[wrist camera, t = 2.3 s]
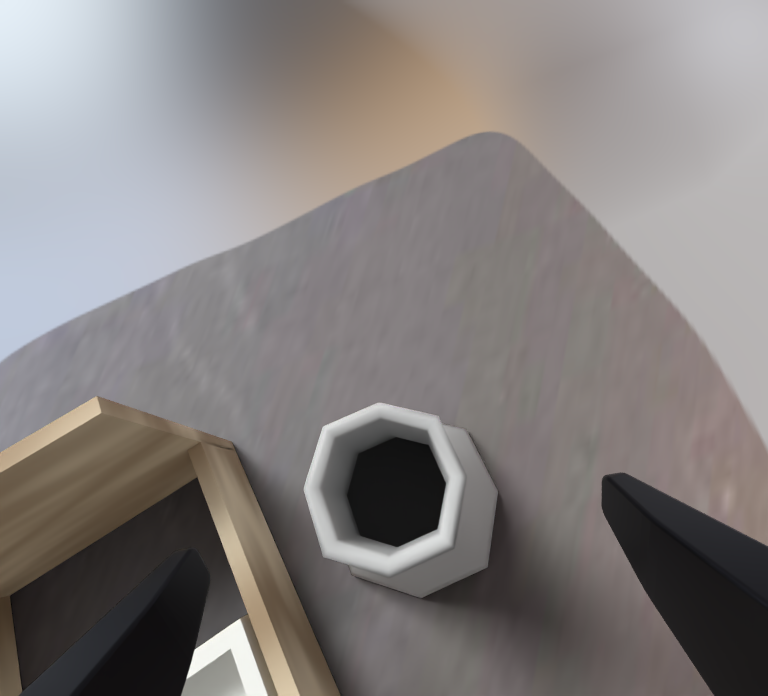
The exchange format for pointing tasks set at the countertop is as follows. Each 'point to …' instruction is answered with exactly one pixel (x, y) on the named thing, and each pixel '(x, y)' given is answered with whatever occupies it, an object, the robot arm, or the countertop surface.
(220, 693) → the tray
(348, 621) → the countertop surface
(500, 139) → the countertop surface
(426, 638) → the countertop surface
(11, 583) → the dock
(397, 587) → the flask
